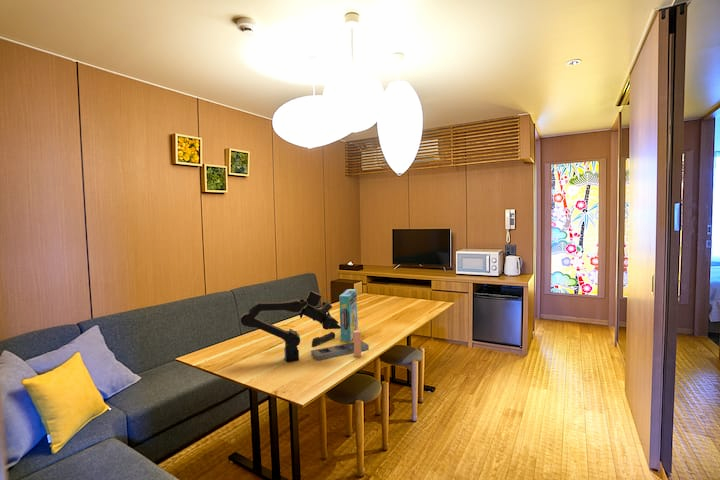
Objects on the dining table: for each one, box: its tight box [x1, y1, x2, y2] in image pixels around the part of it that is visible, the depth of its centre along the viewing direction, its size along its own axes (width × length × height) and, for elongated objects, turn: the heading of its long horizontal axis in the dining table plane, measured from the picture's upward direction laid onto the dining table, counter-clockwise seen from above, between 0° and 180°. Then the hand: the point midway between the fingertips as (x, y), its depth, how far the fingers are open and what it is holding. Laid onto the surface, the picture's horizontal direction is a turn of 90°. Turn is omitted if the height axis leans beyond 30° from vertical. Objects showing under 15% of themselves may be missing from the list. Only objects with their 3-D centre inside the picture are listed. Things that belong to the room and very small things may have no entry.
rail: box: [310, 340, 370, 361], centre depth 204 cm, size 30×9×2 cm, turn 117°
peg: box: [353, 329, 362, 358], centre depth 199 cm, size 4×4×13 cm
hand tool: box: [311, 331, 336, 348], centre depth 222 cm, size 19×4×5 cm, turn 143°
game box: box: [338, 288, 359, 343], centre depth 230 cm, size 20×6×27 cm, turn 168°
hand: (339, 325), depth 201 cm, fingers open, 9 cm apart
